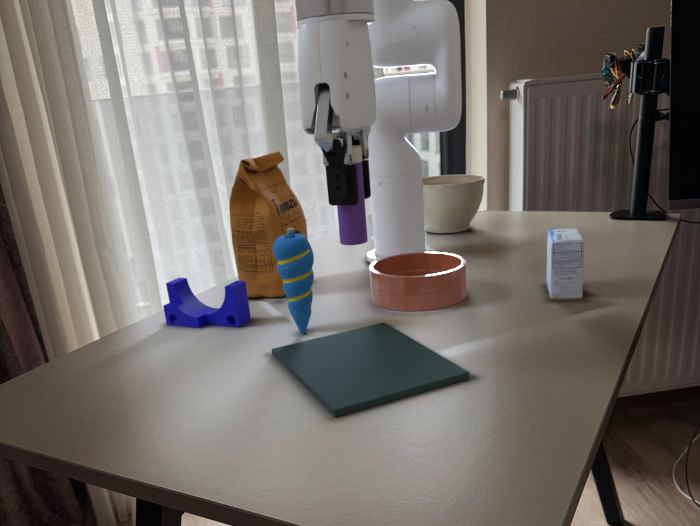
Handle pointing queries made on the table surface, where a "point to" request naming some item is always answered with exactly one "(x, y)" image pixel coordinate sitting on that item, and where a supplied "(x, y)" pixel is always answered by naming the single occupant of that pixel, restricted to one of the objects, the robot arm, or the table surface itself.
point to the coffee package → (262, 222)
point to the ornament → (296, 274)
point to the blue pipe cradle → (197, 314)
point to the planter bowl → (451, 201)
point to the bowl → (418, 281)
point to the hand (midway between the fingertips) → (350, 199)
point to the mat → (366, 367)
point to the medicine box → (565, 263)
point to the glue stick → (354, 209)
